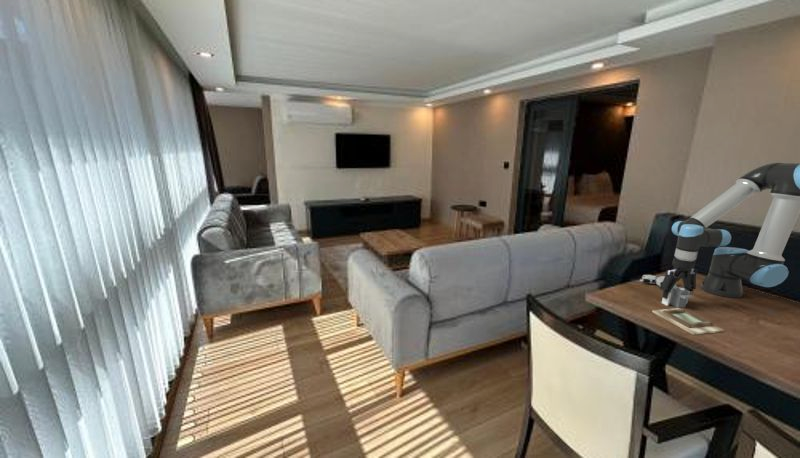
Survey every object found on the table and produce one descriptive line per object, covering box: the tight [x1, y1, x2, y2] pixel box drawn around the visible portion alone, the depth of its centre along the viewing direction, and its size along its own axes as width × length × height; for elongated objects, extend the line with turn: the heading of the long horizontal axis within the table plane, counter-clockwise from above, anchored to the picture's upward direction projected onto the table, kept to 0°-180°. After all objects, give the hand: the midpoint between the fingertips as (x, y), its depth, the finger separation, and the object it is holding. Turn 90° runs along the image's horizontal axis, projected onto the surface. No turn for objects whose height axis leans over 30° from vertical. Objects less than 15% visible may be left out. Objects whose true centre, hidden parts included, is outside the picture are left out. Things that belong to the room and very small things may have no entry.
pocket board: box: [652, 307, 725, 336], centre depth 134 cm, size 14×18×2 cm
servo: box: [669, 285, 694, 309], centre depth 148 cm, size 4×11×9 cm, turn 8°
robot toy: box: [639, 274, 678, 287], centre depth 169 cm, size 12×4×15 cm
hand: (674, 303), depth 149 cm, fingers open, 9 cm apart
